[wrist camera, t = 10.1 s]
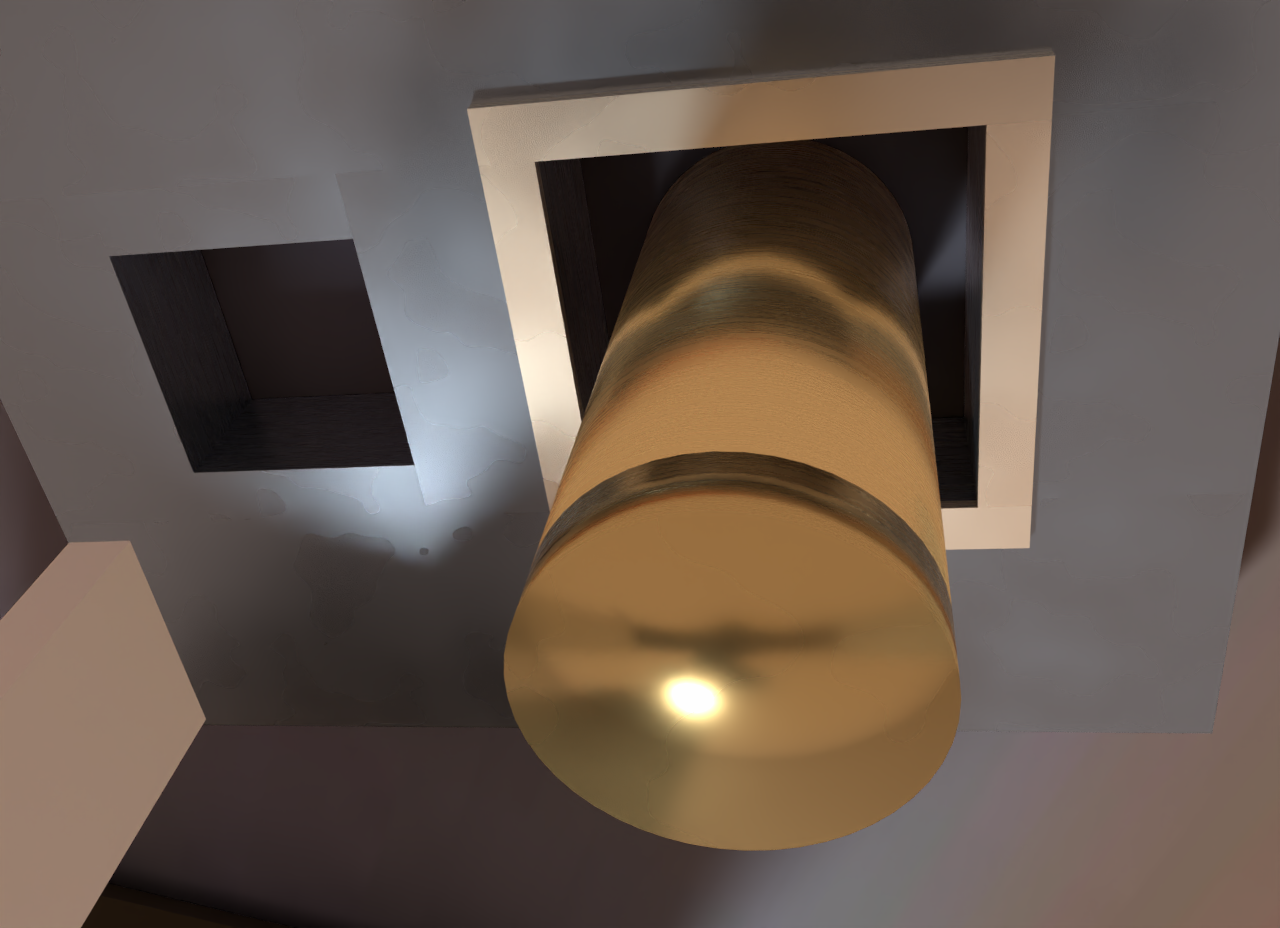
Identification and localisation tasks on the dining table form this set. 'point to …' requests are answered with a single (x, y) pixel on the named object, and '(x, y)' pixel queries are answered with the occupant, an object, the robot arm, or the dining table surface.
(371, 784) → the dining table surface
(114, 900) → the brown box
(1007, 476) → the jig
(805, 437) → the gold cylinder
